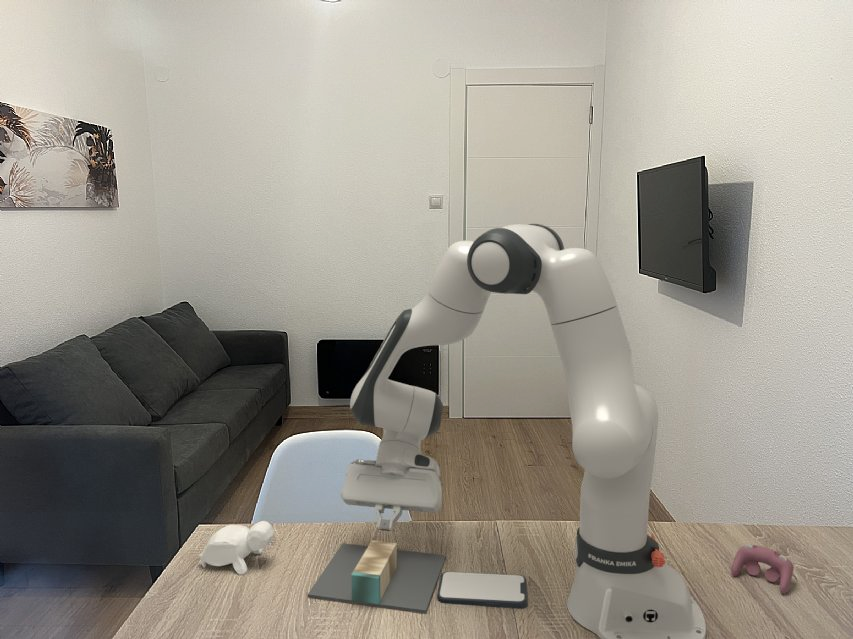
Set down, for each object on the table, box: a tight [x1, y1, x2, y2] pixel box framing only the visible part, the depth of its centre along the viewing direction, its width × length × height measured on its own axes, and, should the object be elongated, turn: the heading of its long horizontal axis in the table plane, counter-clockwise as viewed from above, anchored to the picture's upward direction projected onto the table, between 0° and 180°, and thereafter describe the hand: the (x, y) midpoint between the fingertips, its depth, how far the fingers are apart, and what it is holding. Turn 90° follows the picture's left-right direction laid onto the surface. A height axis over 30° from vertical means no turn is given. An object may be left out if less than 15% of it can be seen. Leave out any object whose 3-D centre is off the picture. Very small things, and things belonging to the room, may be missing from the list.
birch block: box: [351, 539, 398, 604], centre depth 117 cm, size 5×5×12 cm
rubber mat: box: [307, 542, 447, 614], centre depth 121 cm, size 22×18×1 cm
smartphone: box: [436, 571, 528, 610], centre depth 116 cm, size 9×2×16 cm
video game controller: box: [730, 544, 795, 595], centre depth 118 cm, size 10×5×7 cm, turn 48°
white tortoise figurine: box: [197, 520, 275, 576], centre depth 126 cm, size 9×8×15 cm
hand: (384, 530), depth 122 cm, fingers closed
